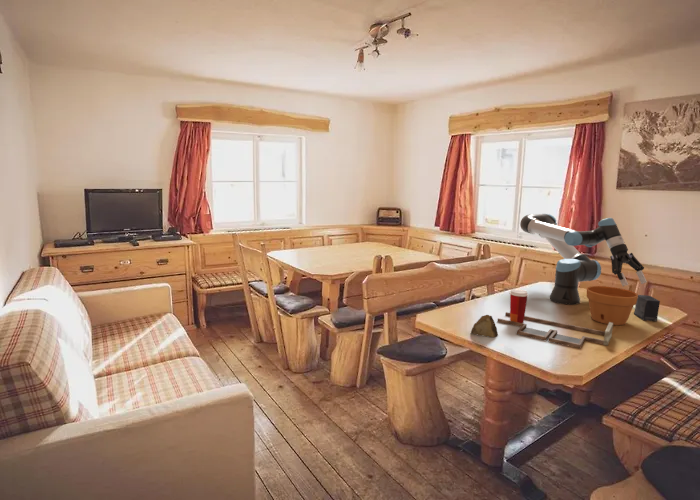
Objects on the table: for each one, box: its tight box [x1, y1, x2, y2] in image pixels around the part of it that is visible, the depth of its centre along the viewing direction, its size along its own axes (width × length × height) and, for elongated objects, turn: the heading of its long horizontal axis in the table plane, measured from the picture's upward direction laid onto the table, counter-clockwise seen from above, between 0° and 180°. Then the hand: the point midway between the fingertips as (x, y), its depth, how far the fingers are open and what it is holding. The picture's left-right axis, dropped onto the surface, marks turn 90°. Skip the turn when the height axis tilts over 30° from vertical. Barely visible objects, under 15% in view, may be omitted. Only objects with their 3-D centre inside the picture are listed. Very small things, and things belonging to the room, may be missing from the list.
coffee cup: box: [509, 288, 529, 324], centre depth 201 cm, size 8×8×15 cm
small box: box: [633, 294, 661, 322], centre depth 209 cm, size 11×6×10 cm, turn 168°
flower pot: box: [586, 285, 639, 326], centre depth 204 cm, size 21×21×15 cm
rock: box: [470, 314, 499, 338], centre depth 185 cm, size 11×9×10 cm
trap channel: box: [497, 311, 614, 349], centre depth 188 cm, size 46×24×6 cm, turn 53°
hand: (635, 284), depth 213 cm, fingers open, 13 cm apart
